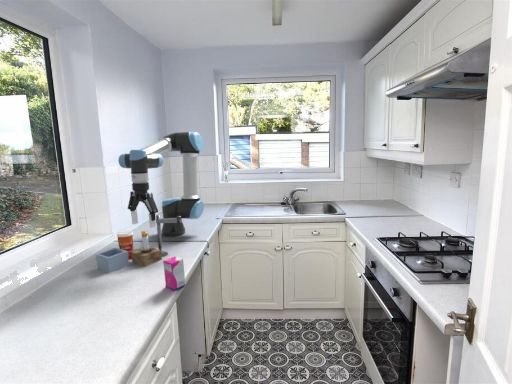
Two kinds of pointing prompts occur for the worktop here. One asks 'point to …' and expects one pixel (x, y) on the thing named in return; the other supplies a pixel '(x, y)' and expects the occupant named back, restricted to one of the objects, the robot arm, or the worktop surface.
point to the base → (164, 253)
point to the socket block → (146, 256)
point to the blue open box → (112, 260)
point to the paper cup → (126, 241)
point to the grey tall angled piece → (158, 221)
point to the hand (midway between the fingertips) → (143, 225)
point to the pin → (145, 241)
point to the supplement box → (174, 273)
